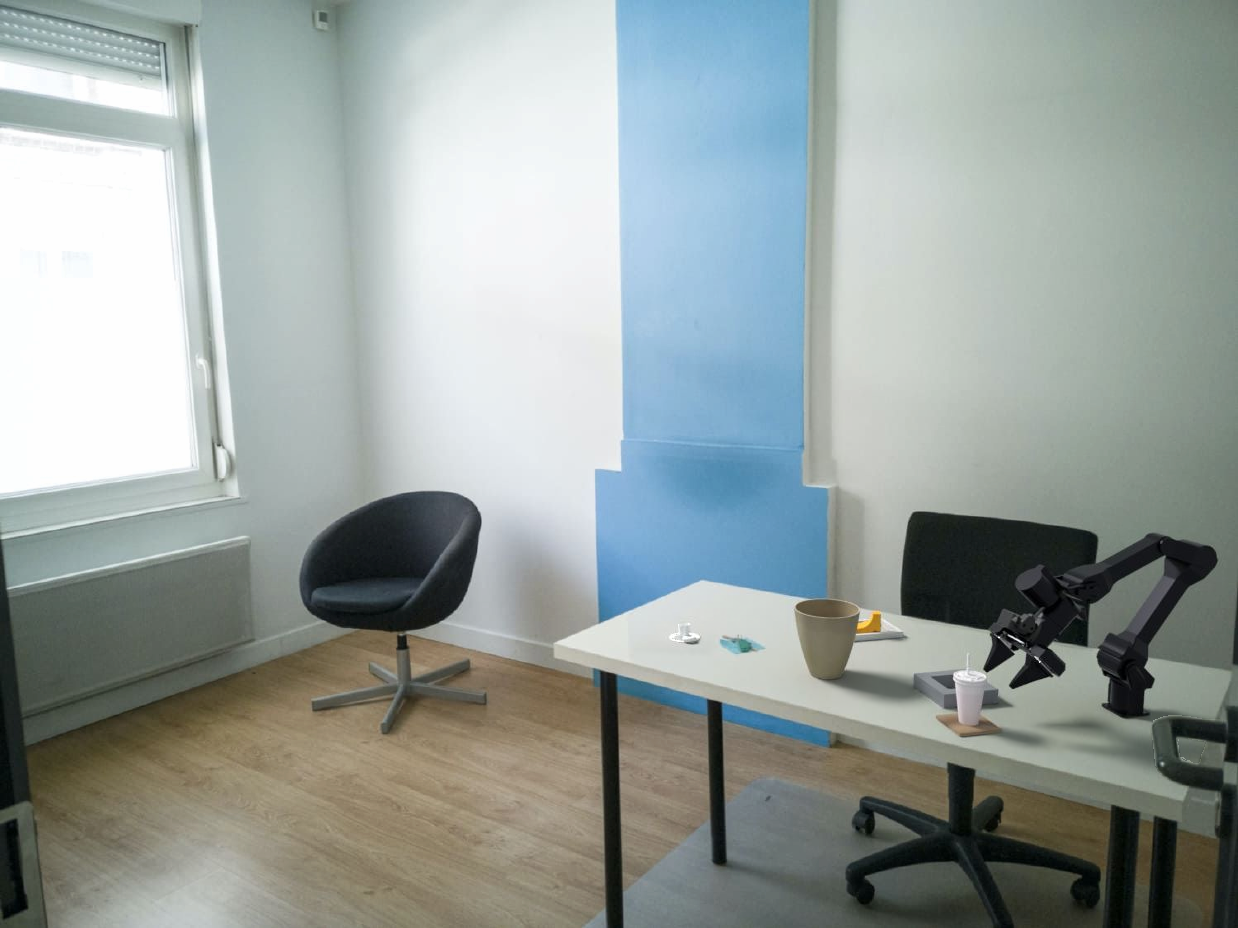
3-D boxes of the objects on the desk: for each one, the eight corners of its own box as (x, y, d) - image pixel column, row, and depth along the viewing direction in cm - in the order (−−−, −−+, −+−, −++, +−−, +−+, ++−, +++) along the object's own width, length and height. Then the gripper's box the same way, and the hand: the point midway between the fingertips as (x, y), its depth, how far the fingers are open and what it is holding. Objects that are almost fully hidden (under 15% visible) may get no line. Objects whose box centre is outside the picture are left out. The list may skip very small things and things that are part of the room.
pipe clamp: (878, 633, 242) (879, 609, 241) (880, 638, 237) (880, 614, 237) (832, 631, 244) (832, 608, 243) (833, 636, 239) (833, 612, 239)
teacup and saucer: (697, 645, 235) (697, 630, 234) (667, 644, 237) (667, 629, 236) (701, 635, 244) (701, 620, 243) (671, 633, 245) (671, 619, 245)
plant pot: (781, 667, 217) (782, 602, 215) (836, 659, 222) (836, 595, 220) (814, 689, 203) (815, 620, 201) (872, 680, 208) (873, 612, 206)
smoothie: (966, 713, 188) (968, 647, 186) (992, 724, 182) (995, 656, 180) (944, 719, 184) (946, 653, 183) (970, 731, 179) (973, 662, 177)
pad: (1001, 732, 180) (1001, 729, 180) (960, 736, 178) (960, 733, 178) (975, 714, 188) (975, 711, 188) (935, 718, 187) (935, 715, 187)
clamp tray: (903, 637, 237) (903, 631, 237) (838, 642, 234) (838, 636, 234) (881, 623, 249) (881, 618, 249) (819, 628, 246) (819, 623, 246)
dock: (998, 702, 194) (998, 689, 194) (943, 708, 192) (944, 694, 191) (964, 681, 206) (965, 668, 206) (913, 686, 204) (913, 673, 204)
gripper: (998, 584, 191) (947, 639, 190) (1053, 609, 172) (997, 670, 172) (1031, 617, 193) (981, 672, 193) (1090, 646, 175) (1034, 706, 174)
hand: (997, 679), depth 183 cm, fingers open, 9 cm apart
